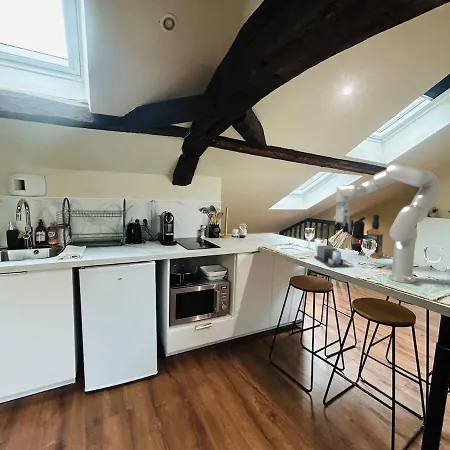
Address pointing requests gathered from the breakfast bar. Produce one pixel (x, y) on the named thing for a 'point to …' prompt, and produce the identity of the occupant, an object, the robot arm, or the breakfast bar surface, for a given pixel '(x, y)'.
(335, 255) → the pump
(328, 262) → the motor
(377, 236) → the whiskey bottle
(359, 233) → the dark red-label bottle
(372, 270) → the breakfast bar surface
